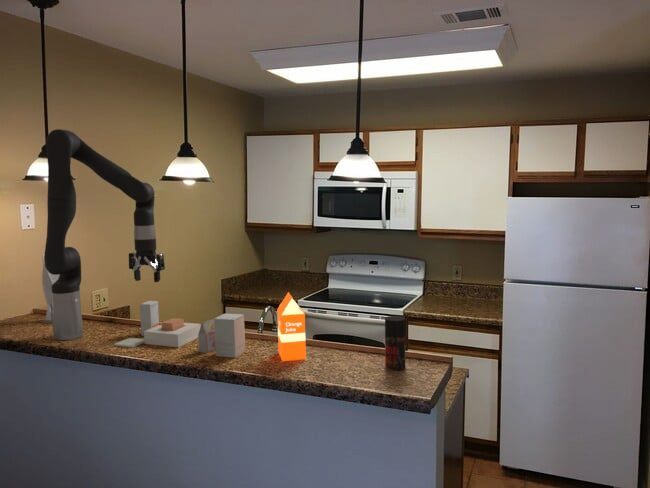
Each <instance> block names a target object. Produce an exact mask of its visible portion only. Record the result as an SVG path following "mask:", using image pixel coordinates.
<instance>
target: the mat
mask: <svg viewBox="0 0 650 488" xmlns="http://www.w3.org/2000/svg"><path fill="white" fill-rule="evenodd" d="M142 344H145V340H144V338H136V337H128V338H126V339H123V340H121V341H117V342H116V343H113V346H114V347H122V348H136V347H137V346H140V345H142Z"/></svg>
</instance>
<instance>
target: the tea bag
mask: <svg viewBox="0 0 650 488" xmlns="http://www.w3.org/2000/svg"><path fill="white" fill-rule="evenodd" d="M214 319H215V318H213V319H210V320H207V321H203V322H201V323H200V324H201V327H200V330H199V333H198V338H197V339H198V340H197V341H198V351H199V353H203V354H208V353H212V352H214V351H215V352H216V345H215V326H214Z"/></svg>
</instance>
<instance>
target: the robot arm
mask: <svg viewBox="0 0 650 488" xmlns="http://www.w3.org/2000/svg"><path fill="white" fill-rule="evenodd" d="M45 146H46V147H45V148H46V156H47V157H46V159H47V166H48V167H47V169H48V174H47V197H46V198H47V202H46V203H47V209H46V210H47V219H46V220H47V221H46V222H47V226H46V228H47V229H46V239H45V240H46V241H45V247H44V248H45V249H44V254H45V255H44V263H45V267H46V269H47V271H48V272H49V273H51V274H53V275H58V274H60V275H59V278H58V280H57V281H56V282H55V283H54V284H53V285H52V299H53V311H54V312H52V324H51V325H52V334H53V335H52V337H53V339H55V340H57V341H68V340H69V341H70V340H75V339H79V338H81V337H83V335H84V331H83V327H84V326H83V315H82V302H81V291H80V287H81V283H82V260H81V255H80V253H79V251H78V250H77V249H76V248H74V247H72V246H67V247H66V237H67V233H68V231H69V229H70V227H71V225H72V222H73V221H74V219H75V215H76V213H77V212H76V211H77V193H76V188H75V184H74V181H73V178H72V173H71V172H72V171H71V160H72V159H73V160H76V161H77V162H80V163H81V164H82V165H83V164H84V165H85V166H86V167H88V168H90V170H91V171H93V172H94V173H95V174H96V175H97V176H98V177H100V179H102V180H104V181H105V182H107V183H109V184H110V185H112V186H113V187H114V188H116V189H118V190H120V191H122V193H124V194H125V195H126V196H128V197H129V198H130V199H131V200H134V202H135V210H134V212H133V239H134V240H133V242H134V251H135V252H134V251H133V252H129V253H128V268H129V270H133V278H134V280H135V282H138V281H141V268H142V267H143V266H149V267H150V268H151V269H152V270H153V282H154V283H159V282H160V281H161V271H163V270H164V271H165V270H166V269H165V268H166V267H165V258H164V257H165V256H164V253H156V251H157V237H156V235H157V234H156V226H155V214H154V210H155V209H154V208H155V197H156V196H155V190H154V187H153V186H152V185H151V184H150V183H148V182H143V181H141V180H139V179H138V178H136V177H134V176H133V175H132V174H131V173H130V172H129V171H128V170H125V168H123V167H121V166H120V165H118V164H117V163H115V162H113V161H112V160H110V159H109V158H107V157H105V156H103V155H102V154H101V153H99V152H97V151H96V150H95V149H93V148H92V147H91V146H90V145H88V144H87V143H86V142H85V141H84V140H82V139H81V138H80V137H79V136H78V135H77V134H76V133H74V132H73V131H70V130H68V129H67V130H66V129H61V128H58V129H53V130H51V131H50V132H49V133H48V135H47V137H46V140H45Z"/></svg>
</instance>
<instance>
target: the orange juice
mask: <svg viewBox="0 0 650 488" xmlns="http://www.w3.org/2000/svg"><path fill="white" fill-rule="evenodd" d="M276 311H277V339H278V343H277V345H278V355H279V357H280V359H281V361H282V362H286V361H287V362H289V361H291V362H292V361H298V360H299V361H301V360H307V356H306V355H307V354H306V353H307V348H306V347H307V346H306V345H307V344H306V343H307V342H306V314H305V312H304V311H303V309H302V308H301V307H300V306H299V305H298V303H297V302H296V301H295V300H294V299H293V296H292V295H291V294H290V292H289V291H288V292H287V294H286V295H285V297H284V298H283V300H282V301H281V303H280V304H279V306H278V308H277V309H276Z"/></svg>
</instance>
